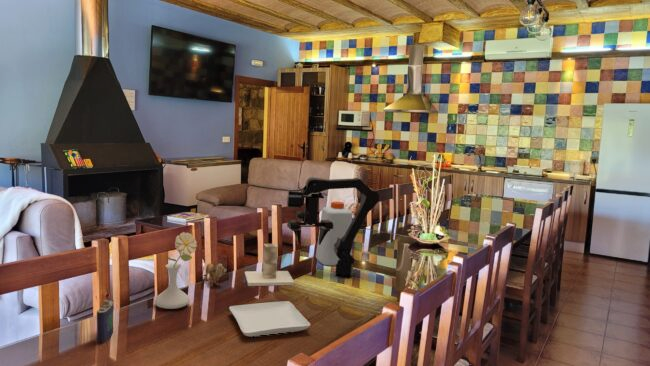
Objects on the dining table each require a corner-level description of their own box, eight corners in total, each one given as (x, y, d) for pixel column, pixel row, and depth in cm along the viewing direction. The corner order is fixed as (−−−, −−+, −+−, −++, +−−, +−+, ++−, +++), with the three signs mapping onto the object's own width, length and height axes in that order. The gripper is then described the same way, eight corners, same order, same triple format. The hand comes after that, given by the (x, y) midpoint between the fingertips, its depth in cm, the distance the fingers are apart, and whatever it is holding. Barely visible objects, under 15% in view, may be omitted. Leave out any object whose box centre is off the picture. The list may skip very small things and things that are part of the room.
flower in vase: (156, 314, 154) (158, 237, 151) (151, 301, 164) (153, 229, 161) (198, 309, 160) (200, 235, 157) (190, 297, 170) (193, 227, 167)
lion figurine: (227, 287, 183) (228, 264, 181) (214, 289, 179) (215, 266, 178) (209, 276, 194) (210, 254, 193) (197, 278, 190) (198, 256, 189)
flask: (105, 329, 141) (106, 294, 139) (116, 329, 141) (116, 294, 140) (95, 344, 132) (95, 306, 130) (106, 344, 132) (106, 306, 131)
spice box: (273, 274, 197) (274, 243, 195) (275, 278, 193) (277, 246, 191) (261, 275, 195) (263, 243, 194) (264, 278, 191) (266, 246, 190)
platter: (287, 273, 203) (287, 270, 203) (294, 284, 190) (294, 282, 190) (244, 274, 199) (244, 271, 199) (248, 285, 185) (248, 282, 185)
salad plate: (227, 315, 158) (228, 305, 158) (289, 309, 166) (289, 299, 166) (242, 343, 139) (243, 332, 138) (311, 335, 147) (312, 324, 147)
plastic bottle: (342, 256, 236) (347, 200, 232) (354, 265, 221) (359, 205, 218) (313, 257, 231) (317, 199, 227) (323, 266, 217) (327, 205, 213)
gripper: (325, 204, 211) (323, 239, 213) (284, 204, 204) (282, 240, 206) (335, 209, 201) (332, 246, 203) (292, 209, 194) (289, 247, 196)
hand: (309, 244), depth 202 cm, fingers open, 9 cm apart
